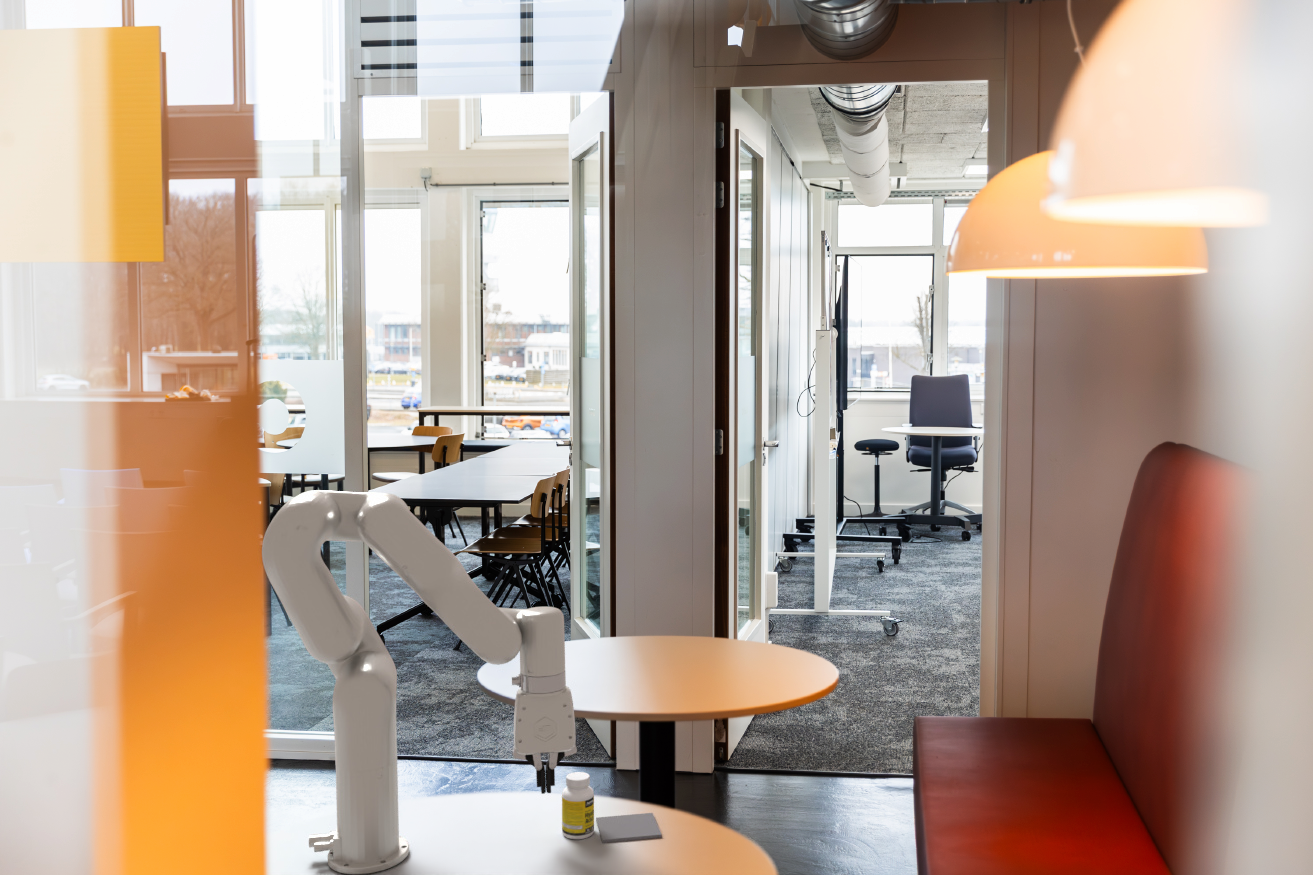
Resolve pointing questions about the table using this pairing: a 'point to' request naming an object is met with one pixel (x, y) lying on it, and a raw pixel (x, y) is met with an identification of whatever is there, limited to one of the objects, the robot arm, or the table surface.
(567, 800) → the supplement bottle
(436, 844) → the table surface
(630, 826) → the mat
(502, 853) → the table surface
